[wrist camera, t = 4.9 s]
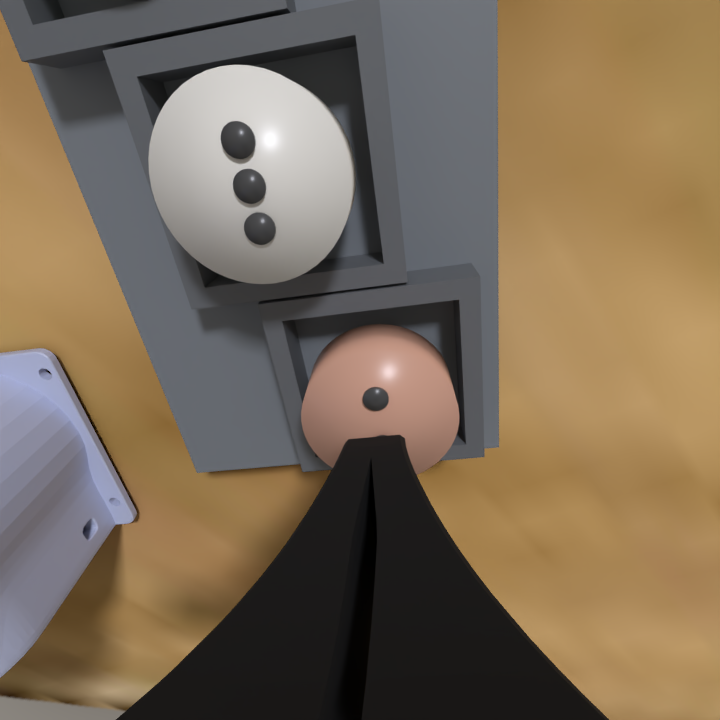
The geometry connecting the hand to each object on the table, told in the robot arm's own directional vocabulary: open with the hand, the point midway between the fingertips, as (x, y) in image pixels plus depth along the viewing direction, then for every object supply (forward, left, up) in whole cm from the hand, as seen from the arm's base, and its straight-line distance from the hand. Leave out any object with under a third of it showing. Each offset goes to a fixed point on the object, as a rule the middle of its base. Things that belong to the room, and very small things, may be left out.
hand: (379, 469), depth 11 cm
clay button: (0, 0, -4) cm, 4 cm away
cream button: (+7, +2, -4) cm, 8 cm away
